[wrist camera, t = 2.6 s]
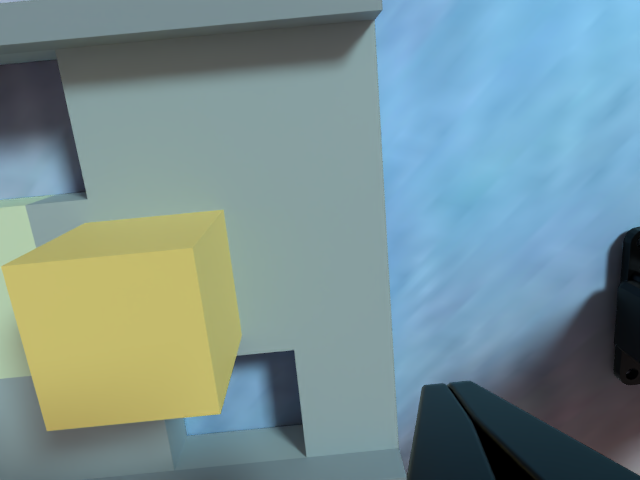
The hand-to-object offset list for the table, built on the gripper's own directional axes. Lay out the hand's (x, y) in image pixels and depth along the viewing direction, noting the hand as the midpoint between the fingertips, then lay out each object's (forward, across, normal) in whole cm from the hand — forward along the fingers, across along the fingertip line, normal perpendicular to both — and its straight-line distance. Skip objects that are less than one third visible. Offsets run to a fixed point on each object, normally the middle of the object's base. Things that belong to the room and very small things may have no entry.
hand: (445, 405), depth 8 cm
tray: (+10, +8, 0) cm, 13 cm away
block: (+8, +7, 0) cm, 11 cm away
